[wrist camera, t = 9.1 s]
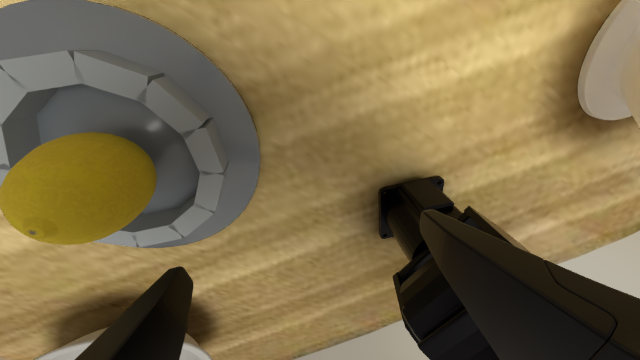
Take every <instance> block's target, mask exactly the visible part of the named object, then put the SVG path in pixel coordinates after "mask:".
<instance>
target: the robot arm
mask: <svg viewBox="0 0 640 360" xmlns="http://www.w3.org/2000/svg"><path fill="white" fill-rule="evenodd" d="M438 181H439V182H438ZM437 182H438V183H437ZM443 186H444V179H443V178H441V177H440V176H437V177H433V178H428V179H422V180H417V181H412V182H407V183H403V184H399V185H394V186H390V187H385V188H382V189H381V190H380V191H379V235H380V237H381V238H382V239H386V238H390V237H395V239H396V240H397V242H398V243H399V245H400V247H401V248H402V250H403V252H404V253H405V255H406V256H407V258H408V260H409V261H410V262H409V263H408V264H407V265H406V266H405V267H404V268H403V269H402V270H401V271H399V272H397V273H396V274H395V275H393V280H394V285H395V289H396V293H397V298H398V302H399V306H400V310H401V315H402V318H403V321H404V324H405V327H406V329H407V330H408V331H409V333H410V335H411V336H412V337H413V339H414V340H415V341H416V343H417V344H418V347H419V349H420V350H421V351H422V352H423V353H424V354H425V355H426V356H427V357H428V358H429V359H430V360H640V299H639V298H636V297H634V296H631V295H629V294H626V293H624V292H621V291H618V290H616V289H613V288H611V287H608V286H606V285H603V284H601V283H598V282H595V281H593V280H591V279H588V278H586V277H584V276H581V275H579V274H577V273H574V272H572V271H570V270H567V269H565V268H563V267H560V266H558V265H556V264H554V263H552V262H549V261H547V260H543V259H542V258H540V257H538V256H536V255H534V254H531V253H530V252H529V251H528V250H527V249H526V248H525V247H524V246H522V245H521V244H520V243H519V242H517V241H516V240H515V239H514V238H512V237H511V236H510V235H509V234H507V233H506V232H505V231H504V230H502V229H501V228H500V227H498V226H497V225H496V224H494V223H493V222H491V221H490V220H489V219H487V218H486V217H484V216H483V215H481V214H480V213H479V212H477V211H476V210H474V209H473V208H471V207H470V206H468V207H467V208H466V209H465V210H464V213H462V212H461V211H459V210H458V209H457V208H456V207H455V206H454V202H453V201H452V200H450V199H449V198H448V197H447V196H446V195H445V194H444V193H443ZM384 192H386V193H385V194H383V193H384ZM192 292H193V281H192V279H191V277H190V276H189V275H188V273H187V272H186V270H185V269H184V268H183V267H175V268H171V269H169V270H168V271H167V272H165V273H164V274H163V275H162V276H161V277H160V278H159V279H158V280H157V281H156V282H155V283H154V284H153V285H152V286H151V287H150V288H149V289H148V290H147V291H146V292H145V293H144V294H142V295H141V296H140V297H139V298H138V299H137V300H136V301H135V302H134V303H133V304H132V305H131V306H130V307H129V308H128V309H127V310H126V311H125V312H124V313H123V314H122V315H121V316H119V317H118V318H117V319H116V320H115V321H114V322H113V323H112V324H111V325H110V326H109V327H108V328H107V329H106V330H105V331H104V332H103V333H102V334H101V335H100V336H99V337H98V338H96V339H95V340H94V341H93V342H92V343H91V344H90V345H89V346H88V347H87V348H86V349H85V350H84V351H83V352H82V353H81V354H80V355H79V356H78V357H77V358H76V359H75V360H179V359H180V355H181V351H182V347H183V343H184V339H185V335H186V331H187V326H188V319H189V312H190V306H191V299H192Z"/></svg>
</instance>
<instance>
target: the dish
mask: <svg viewBox="0 0 640 360" xmlns="http://www.w3.org/2000/svg"><path fill="white" fill-rule="evenodd" d="M107 328H108V327H107ZM107 328H104V329H101V330H98V331H95V332H92V333H90V334H87V335H85V336H82V337H80V338H78V339H76V340H74V341H72V342H70V343H68V344H66V345H64V346H62V347H61V348H58V349H55V350H52V351H50V352H47V353H45V354H43V355H41V356H39V357H37V358H36V359H34V360H75V359H76V358H77V357H78V356H79V355H80V354H81V353H82V352H83V351H84V350H85V349H86V348H87V347H88V346H89V345H90V344H91V343H92V342H93V341H94V340H95V339H96V338H98V337H99V336H100V335H101V334H102V333H103V332H104V331H105V330H106V329H107ZM179 360H212V358H211V356H210V355H209V354H208V353H207V352H206V351H205V350H204V349H202V348H200V346H199V345H198V344H197V342H196V341H195V340H194V339H193V338H192V337H191V336H189V335H188V334H187V333H186V335H185V339H184V343H183V347H182V351H181V355H180V359H179Z"/></svg>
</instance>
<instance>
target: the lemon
mask: <svg viewBox="0 0 640 360" xmlns="http://www.w3.org/2000/svg"><path fill="white" fill-rule="evenodd" d="M156 181H157V174H156V170H155V166H154V164H153V162H152V160H151V158H150V157H149V155H148V154H147V153H146V152H145V151H144V150H143V149H142V148H140V147H139V146H138V145H136V144H135V143H133V142H131V141H129V140H128V139H126V138H123V137H120V136H117V135H113V134H109V133H100V132H87V133H76V134H70V135H66V136H63V137H60V138H57V139H54V140H52V141H49V142H47V143H44V144H42V145H40V146H38V147H37V148H35V149H34V150H32V151H31V152H30V153H28V154H27V155H26V156H25V157H24V158H22V159H21V160H20V161H19V162H18V163H17V164H15V165H14V166H13V167H12V169H11V170H10V171H9V172H8V173H7V175H6V177H5V179H4V181H3V183H2V185H1V187H0V208H1V210H2V212H3V214H4V216H5V218H6V219H7V220H8V222H9V223H10V224H11V225H12V226H13V227H14V228H16V229H17V230H18V231H20V232H21V233H22V234H24V235H26V236H28V237H30V238H33V239H36V240H38V241H42V242H46V243H51V244H62V245H71V244H83V243H88V242H92V241H96V240H100V239H103V238H105V237H107V236H109V235H111V234H113V233H115V232H117V231H119V230H120V229H122V228H124V227H125V226H127V225H128V224H129V223H130V222H132V221H133V220H134V219H135V218H136V217H137V216H138V215H139V214H140V213H141V212H142V211H143V210H144V209H145V208H146V206H147V205H148V204H149V202H150V200H151V198H152V196H153V194H154V192H155V189H156Z"/></svg>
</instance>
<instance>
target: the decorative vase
mask: <svg viewBox="0 0 640 360" xmlns="http://www.w3.org/2000/svg"><path fill="white" fill-rule="evenodd" d="M578 99H579V103H580V105H581V107H582V109H583V110H584V111H585V112H586V113H587V114H588V115H590V116H592V117H594V118H598V119H603V120H619V119H623V118H627V117H630V116H633V117H634V119H635V121H636V123H637V125H638V126H639V128H640V0H621V1H620V3H619V4H618V5H617V6H616V7H615V9H614V10H613V11H612V13H611V14H610V15H609V17H608V18H607V19H606V21H605V22H604V24H603V25H602V27H601V28H600V30H599V31H598V33H597V35H596V36H595V38H594V40H593V42H592V44H591V46H590V48H589V50H588V52H587V54H586V56H585V59H584V62H583V64H582V67H581V71H580V75H579V80H578Z"/></svg>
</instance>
